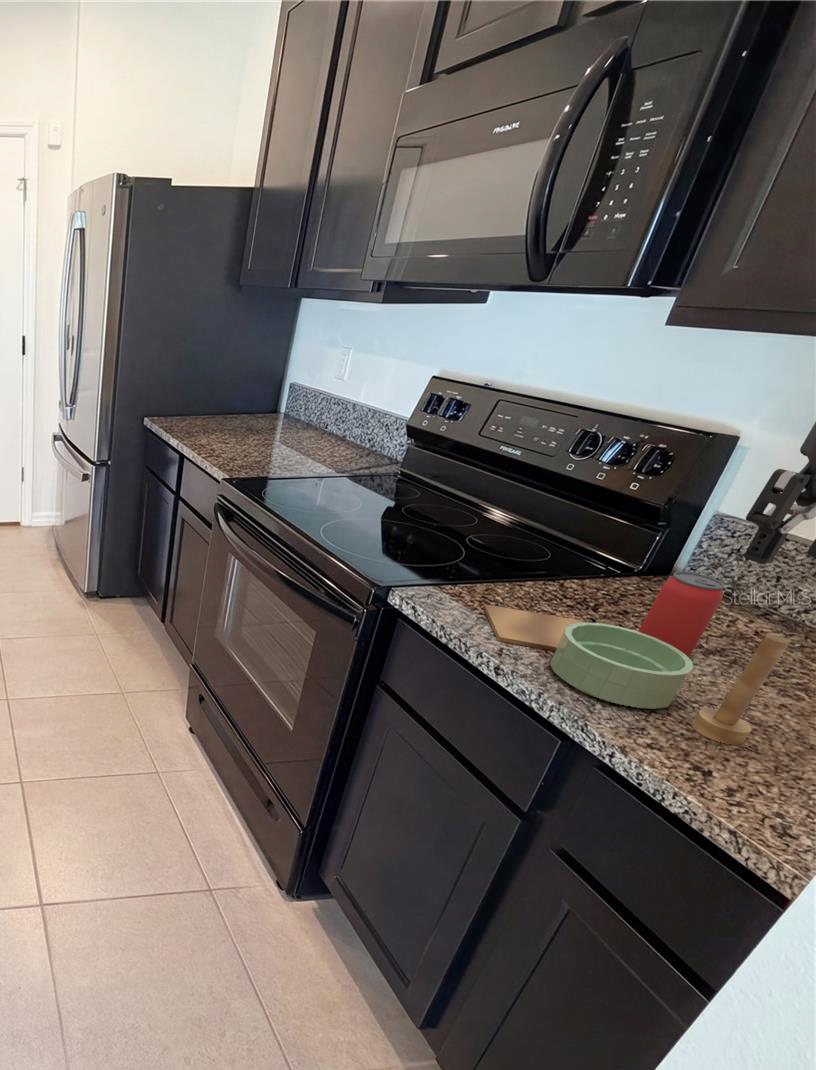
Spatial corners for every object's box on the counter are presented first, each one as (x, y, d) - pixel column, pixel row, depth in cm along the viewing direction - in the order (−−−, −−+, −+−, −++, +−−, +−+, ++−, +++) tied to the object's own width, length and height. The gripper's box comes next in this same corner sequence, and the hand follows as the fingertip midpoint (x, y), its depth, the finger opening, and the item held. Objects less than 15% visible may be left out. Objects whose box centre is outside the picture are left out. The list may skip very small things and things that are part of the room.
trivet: (581, 625, 107) (583, 620, 107) (607, 661, 97) (609, 656, 97) (482, 608, 112) (484, 604, 112) (497, 641, 102) (499, 636, 102)
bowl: (647, 669, 96) (667, 634, 93) (690, 722, 84) (714, 684, 82) (537, 649, 100) (553, 615, 97) (564, 697, 89) (582, 660, 86)
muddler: (731, 726, 84) (793, 633, 77) (751, 749, 80) (818, 653, 73) (684, 717, 85) (740, 625, 79) (701, 739, 82) (762, 643, 75)
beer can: (681, 665, 97) (722, 593, 91) (626, 645, 102) (662, 576, 96) (695, 652, 100) (736, 582, 95) (641, 633, 105) (677, 566, 99)
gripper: (865, 424, 63) (772, 576, 70) (985, 422, 64) (882, 571, 72) (775, 409, 69) (699, 549, 77) (886, 407, 71) (801, 544, 78)
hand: (788, 559), depth 74 cm, fingers open, 8 cm apart
